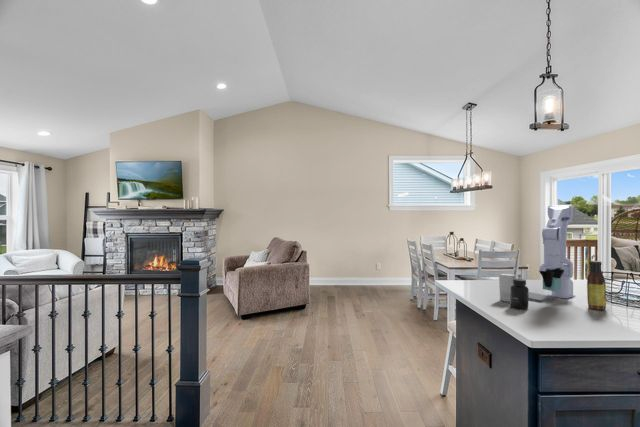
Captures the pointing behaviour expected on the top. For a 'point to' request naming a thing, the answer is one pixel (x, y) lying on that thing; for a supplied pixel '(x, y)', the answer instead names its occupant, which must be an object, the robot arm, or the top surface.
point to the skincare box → (505, 286)
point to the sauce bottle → (596, 287)
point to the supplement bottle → (519, 294)
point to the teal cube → (553, 285)
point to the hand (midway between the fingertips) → (551, 286)
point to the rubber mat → (539, 297)
